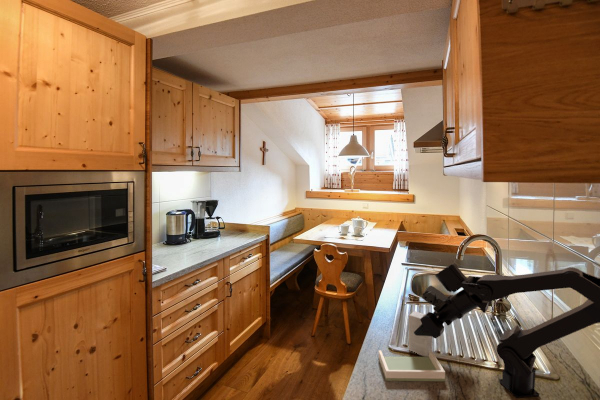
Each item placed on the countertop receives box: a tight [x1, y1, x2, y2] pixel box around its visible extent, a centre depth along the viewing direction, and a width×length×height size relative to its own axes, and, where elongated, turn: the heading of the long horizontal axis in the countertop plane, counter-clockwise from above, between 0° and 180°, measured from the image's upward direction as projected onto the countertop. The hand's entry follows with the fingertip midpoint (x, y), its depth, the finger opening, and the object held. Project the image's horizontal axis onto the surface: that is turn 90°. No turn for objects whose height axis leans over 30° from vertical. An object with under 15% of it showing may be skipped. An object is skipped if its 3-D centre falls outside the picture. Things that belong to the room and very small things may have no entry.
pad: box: [378, 350, 446, 382], centre depth 92 cm, size 16×10×3 cm, turn 88°
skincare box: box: [408, 311, 433, 357], centre depth 100 cm, size 6×4×12 cm
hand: (420, 328), depth 100 cm, fingers open, 9 cm apart
